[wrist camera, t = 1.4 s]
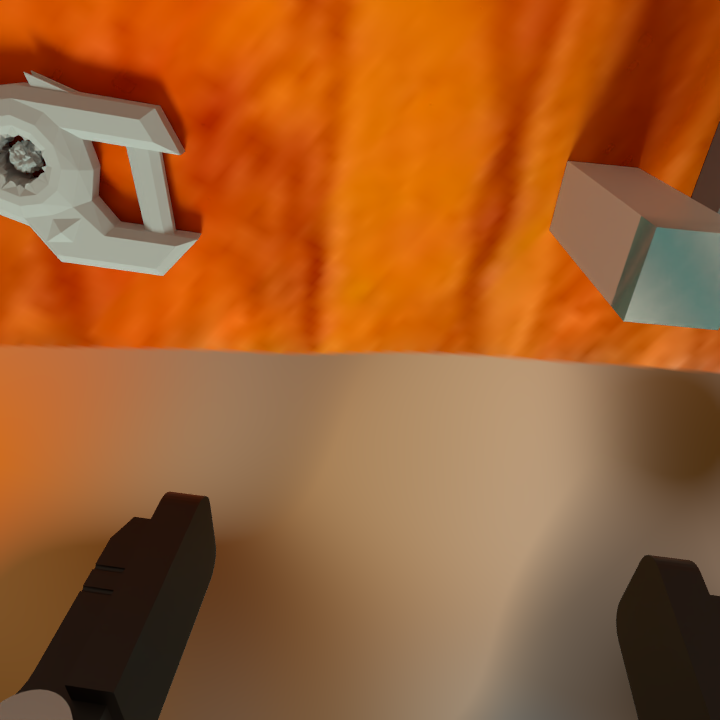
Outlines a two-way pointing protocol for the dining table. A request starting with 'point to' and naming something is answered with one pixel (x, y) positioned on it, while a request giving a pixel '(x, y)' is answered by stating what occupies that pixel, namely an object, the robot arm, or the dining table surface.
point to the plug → (641, 244)
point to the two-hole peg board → (710, 177)
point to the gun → (87, 175)
